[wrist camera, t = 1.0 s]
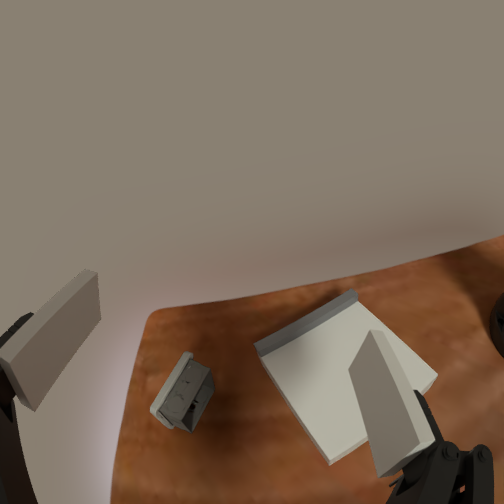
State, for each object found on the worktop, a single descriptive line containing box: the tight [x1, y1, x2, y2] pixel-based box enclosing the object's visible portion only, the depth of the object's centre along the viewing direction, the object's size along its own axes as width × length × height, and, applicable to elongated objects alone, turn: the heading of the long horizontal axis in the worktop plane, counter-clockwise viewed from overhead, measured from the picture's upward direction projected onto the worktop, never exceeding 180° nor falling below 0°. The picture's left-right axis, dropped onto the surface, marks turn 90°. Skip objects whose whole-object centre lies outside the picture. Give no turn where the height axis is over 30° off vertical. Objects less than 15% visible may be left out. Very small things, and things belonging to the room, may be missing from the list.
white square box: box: [254, 288, 438, 465], centre depth 31 cm, size 16×18×6 cm
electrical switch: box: [150, 351, 215, 433], centre depth 31 cm, size 9×5×9 cm, turn 158°
